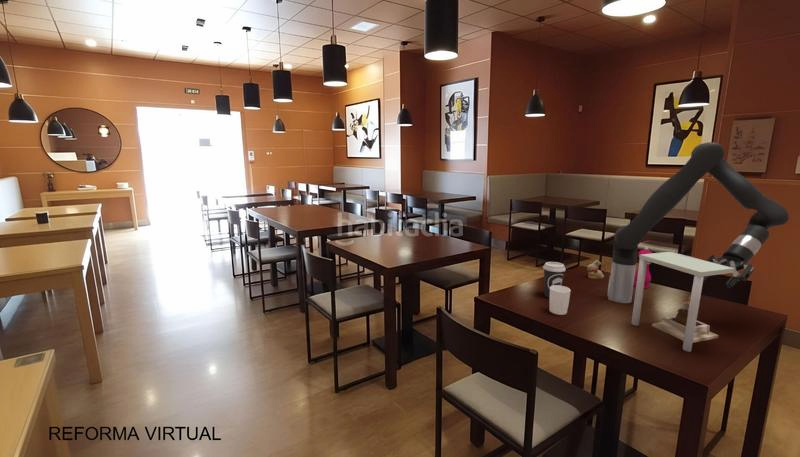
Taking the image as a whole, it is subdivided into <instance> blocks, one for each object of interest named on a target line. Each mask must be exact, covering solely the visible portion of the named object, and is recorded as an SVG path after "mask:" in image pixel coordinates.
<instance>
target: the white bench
mask: <svg viewBox="0 0 800 457" xmlns="http://www.w3.org/2000/svg"><path fill="white" fill-rule="evenodd" d="M638 258H639V259H640V262H638V263H639V264H638V268H639V270H638V269H637V270H638V277H637V285H636V287H635V292H634V300H633V310H632V316H631V325H633V326H635V327H636V326H638V327H639V325H640V317H641V312H642V304H643V296H644V291H645V290H644V282H645V275H646V268H647V261H649V262H650V263H654V264H657V265H660V266H663V267H667V268H670V269H674V270H677V271H680V272H682V273H686V274H690V275H693V281H692V282H693V283H692V287H691V294H690V301H689V302H690V305H689V304H688V308H689V311H688V318H687V324H686V330H685V336H684V341H682V342H683V344H682V350H683V351H685V352H689V353H690V352H692V348H693V338H694V332H695V326H696V320H697V319H698V315H699V314H698V313H699V308H700V301H701V294H702V289H703V283H704V280H703V279H704V276H709V277H711V276H717V275H725V274H733V273H734V268H731V267H727V266H724V265H720V264H716V263H712V262H708V261H706V260H703V259H700V258H696V257H693V256H689V255H684V254H681V253H677V252H672V251H666V252H665V251H663V252H655V253H653V252H652V254H641V255H640V257H638ZM639 259H638V260H639ZM697 321H698V320H697Z"/></svg>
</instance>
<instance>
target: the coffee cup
mask: <svg viewBox="0 0 800 457" xmlns="http://www.w3.org/2000/svg"><path fill="white" fill-rule="evenodd" d="M542 268H543V284H544V285H543V289H544V290H543V292H544V295H543V296H545V297H547V298H549V296H550V287H551V286H555V285H558V286H563V281H564V276H565V272H566V271H567V270H566V267H565V264H564V263H561V262H557V261H547V262H545V263H544V265H543V266H542Z"/></svg>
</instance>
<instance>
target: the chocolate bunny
mask: <svg viewBox="0 0 800 457" xmlns="http://www.w3.org/2000/svg"><path fill="white" fill-rule="evenodd" d="M600 265H602V263H601V262H600V261H599V260H598V259H596V260H594V261H593V262H592V263H590V264H588V265H587V268H586V269H587V274H588V275H587V277H588V278H590V279H594V280H595V279H596V280H602V279H604V277H605V275H604V274H603V272H602V271H601V270H599V266H600Z"/></svg>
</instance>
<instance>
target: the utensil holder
mask: <svg viewBox="0 0 800 457" xmlns="http://www.w3.org/2000/svg"><path fill="white" fill-rule="evenodd" d="M690 299H691V295H689V297H688V301H683V304H687V305H686V306H689V305H690ZM686 306H683V308H678V310H677V314H676V315H675V316H676V319H675V322H677V323H679V324H681V325H684V326H686V324H687V318H688V311H689V307H686ZM685 307H686V308H685Z"/></svg>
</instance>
